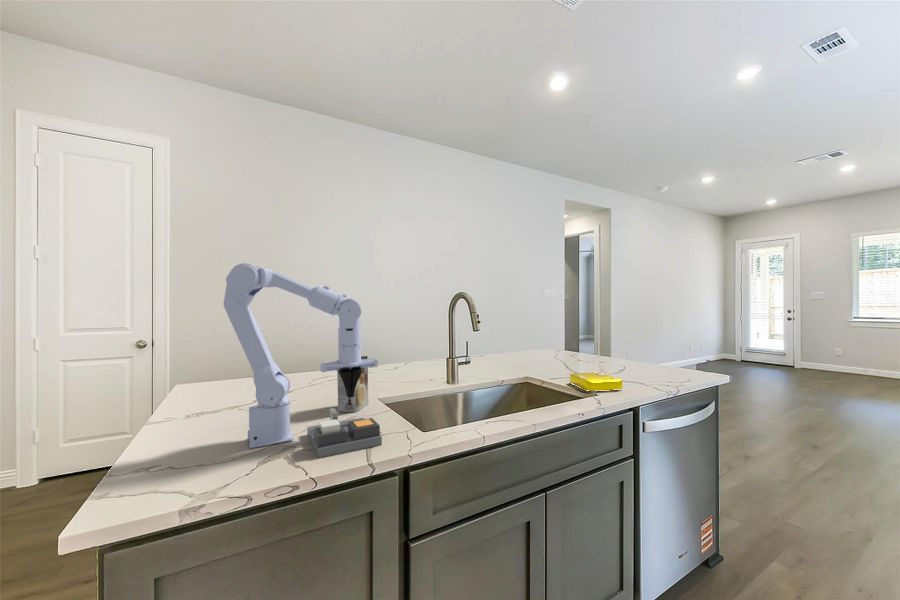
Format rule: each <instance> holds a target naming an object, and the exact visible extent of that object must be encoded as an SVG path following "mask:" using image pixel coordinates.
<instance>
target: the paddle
mask: <svg viewBox="0 0 900 600" xmlns="http://www.w3.org/2000/svg"><path fill="white" fill-rule="evenodd" d="M338 412H339V411H338V410H336V408H334V407H333V408H329V420H335V419H337V421H338V422H339V417H338V416H339V414H338Z"/></svg>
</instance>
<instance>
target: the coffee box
mask: <svg viewBox="0 0 900 600" xmlns="http://www.w3.org/2000/svg"><path fill="white" fill-rule="evenodd" d="M361 359H369V358H368V355H361ZM336 361H339V359H338V360H336ZM368 368H369V367H365V368H361V370H362V373H361V375H360V377H359V379H358V382H357V384H356V388H355V392H354V397H350V398H348V397H347V395H346V389H345V386H344V383H343V380H342V378H341V376H340V374H339V372H338V370H336V371H337V373H336V374H337V412H341V411H344V412H345V413H357V412H358V410H359V411H360V410H362V409H363V408H364V407H366V406H368V404H369V374H368V373H369V371H368V370H369V369H368ZM361 408H362V409H361ZM344 412H343V413H344Z"/></svg>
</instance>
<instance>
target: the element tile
mask: <svg viewBox="0 0 900 600" xmlns="http://www.w3.org/2000/svg"><path fill="white" fill-rule="evenodd" d="M623 382H624V381H623V379H622V378H619V377H617V376H614V375H610V374H608V373H605V372H603V371H595V372H577V373H576V372H575V373H570V374H569V384H570V383H573V384H575V385H577V386H579V387H581V388H583V389H585V390H590V391H595V390H613V389H622V388H623V387H624V386H623V385H624V384H623ZM623 389H624V388H623Z"/></svg>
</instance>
